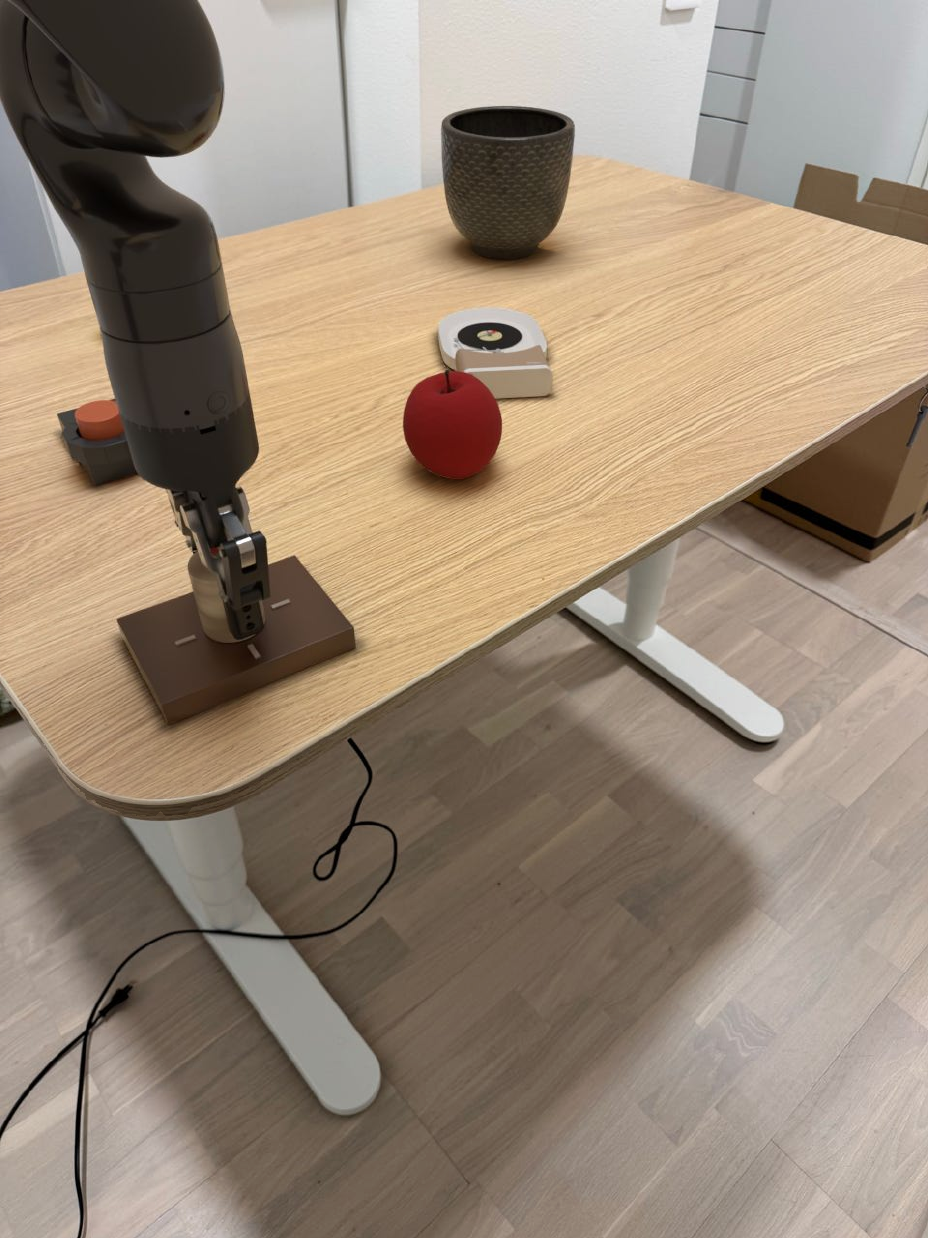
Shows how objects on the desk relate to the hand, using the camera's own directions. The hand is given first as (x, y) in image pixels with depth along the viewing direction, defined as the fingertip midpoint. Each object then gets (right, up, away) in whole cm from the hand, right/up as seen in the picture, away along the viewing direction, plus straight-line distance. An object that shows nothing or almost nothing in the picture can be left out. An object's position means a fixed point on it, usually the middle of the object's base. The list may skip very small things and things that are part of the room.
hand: (233, 610), depth 64 cm
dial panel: (0, -2, +2) cm, 3 cm away
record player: (+20, +29, +37) cm, 51 cm away
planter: (+22, +51, +63) cm, 84 cm away
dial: (0, -1, +1) cm, 1 cm away
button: (-16, +16, +18) cm, 29 cm away
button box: (-15, +16, +23) cm, 32 cm away
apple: (+15, +13, +20) cm, 29 cm away
